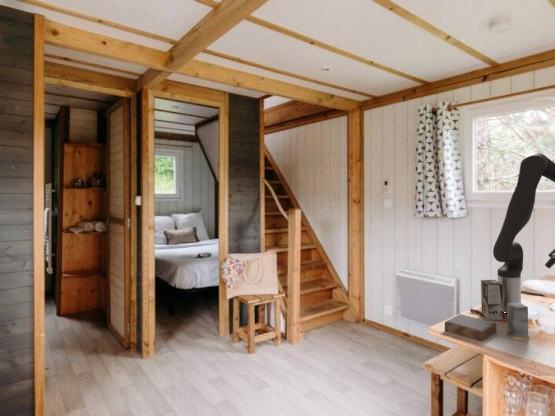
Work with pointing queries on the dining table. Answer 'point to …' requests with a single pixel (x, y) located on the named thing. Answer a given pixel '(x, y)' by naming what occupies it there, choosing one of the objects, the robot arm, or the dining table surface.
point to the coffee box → (492, 299)
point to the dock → (471, 327)
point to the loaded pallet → (517, 321)
